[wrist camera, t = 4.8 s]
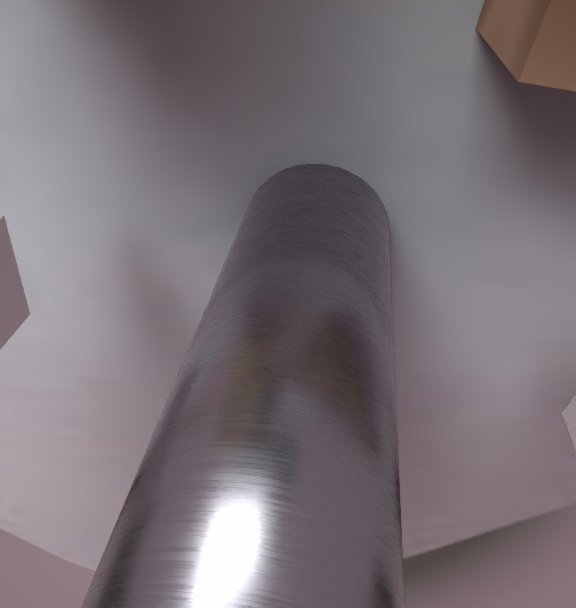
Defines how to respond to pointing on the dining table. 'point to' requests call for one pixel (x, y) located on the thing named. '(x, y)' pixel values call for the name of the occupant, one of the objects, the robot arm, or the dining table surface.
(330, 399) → the cylinder
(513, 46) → the socket block
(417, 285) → the dining table surface
